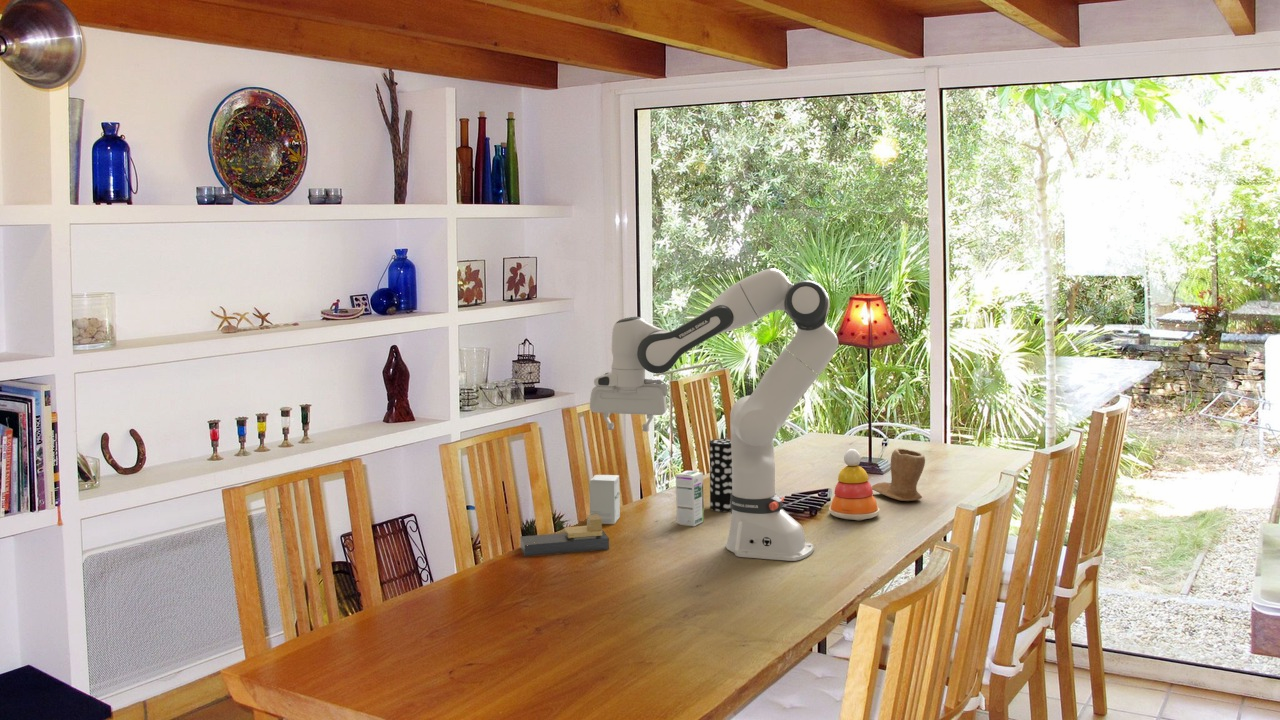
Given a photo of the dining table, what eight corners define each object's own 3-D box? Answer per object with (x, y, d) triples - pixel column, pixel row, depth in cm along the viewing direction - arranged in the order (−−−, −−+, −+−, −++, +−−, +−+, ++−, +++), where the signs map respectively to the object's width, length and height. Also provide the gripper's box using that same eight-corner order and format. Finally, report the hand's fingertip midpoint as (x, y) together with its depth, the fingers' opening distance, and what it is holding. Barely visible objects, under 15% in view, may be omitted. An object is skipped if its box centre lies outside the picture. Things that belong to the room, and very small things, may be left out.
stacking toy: (888, 514, 316) (889, 448, 314) (864, 525, 306) (864, 456, 303) (844, 507, 326) (845, 442, 323) (819, 517, 315) (819, 450, 312)
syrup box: (694, 527, 307) (694, 475, 305) (676, 524, 310) (675, 473, 308) (704, 522, 311) (703, 471, 310) (686, 519, 314) (685, 469, 313)
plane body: (602, 540, 294) (602, 528, 294) (609, 549, 287) (608, 537, 286) (520, 547, 289) (520, 535, 289) (524, 556, 282) (524, 544, 281)
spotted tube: (743, 506, 327) (743, 440, 325) (730, 513, 320) (729, 445, 318) (718, 503, 332) (718, 437, 329) (705, 509, 325) (704, 442, 322)
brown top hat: (932, 501, 330) (933, 452, 329) (898, 505, 326) (899, 455, 324) (902, 490, 344) (903, 443, 343) (870, 494, 340) (870, 446, 338)
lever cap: (597, 529, 293) (597, 513, 292) (602, 535, 287) (602, 519, 286) (564, 531, 291) (563, 516, 290) (568, 538, 285) (567, 522, 284)
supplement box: (615, 524, 310) (614, 480, 308) (589, 523, 311) (588, 479, 310) (620, 517, 317) (620, 474, 316) (595, 516, 319) (594, 473, 317)
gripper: (669, 378, 291) (668, 429, 293) (593, 375, 295) (593, 426, 297) (665, 381, 285) (664, 434, 287) (588, 379, 289) (588, 431, 291)
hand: (628, 430), depth 292 cm, fingers open, 8 cm apart
